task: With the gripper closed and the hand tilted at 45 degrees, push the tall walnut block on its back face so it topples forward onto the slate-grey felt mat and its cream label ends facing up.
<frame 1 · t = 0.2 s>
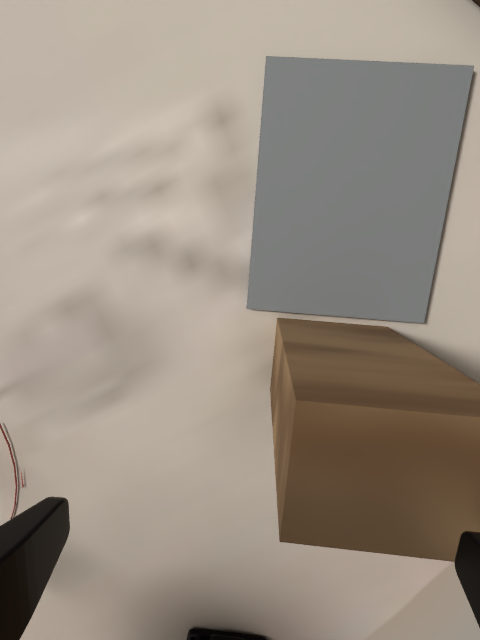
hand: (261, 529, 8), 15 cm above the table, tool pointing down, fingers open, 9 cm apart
walnut block: (326, 359, 22), on the table
felt mat: (348, 199, 20), on the table
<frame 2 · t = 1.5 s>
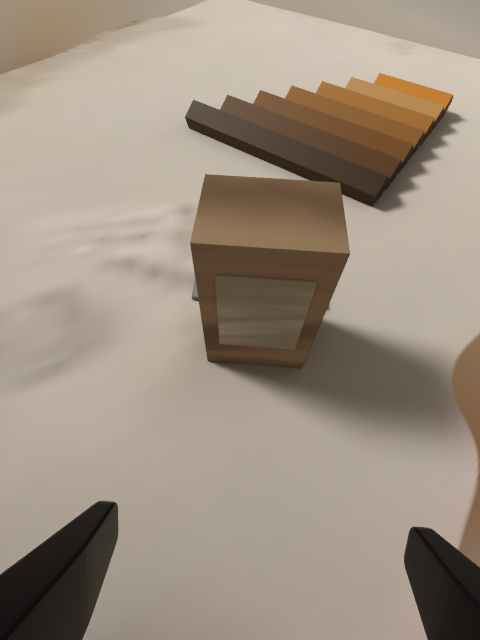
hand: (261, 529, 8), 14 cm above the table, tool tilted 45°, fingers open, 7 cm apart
walnut block: (256, 335, 26), on the table
pan flute: (319, 126, 44), on the table
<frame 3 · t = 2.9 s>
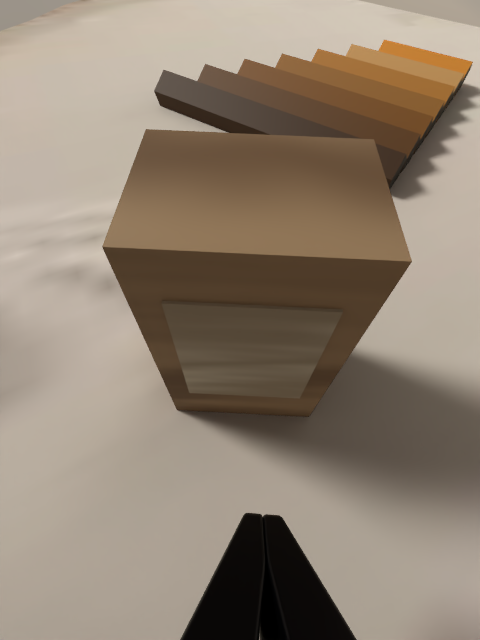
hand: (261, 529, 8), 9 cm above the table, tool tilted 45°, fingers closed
walnut block: (244, 369, 19), on the table
pan flute: (316, 103, 37), on the table
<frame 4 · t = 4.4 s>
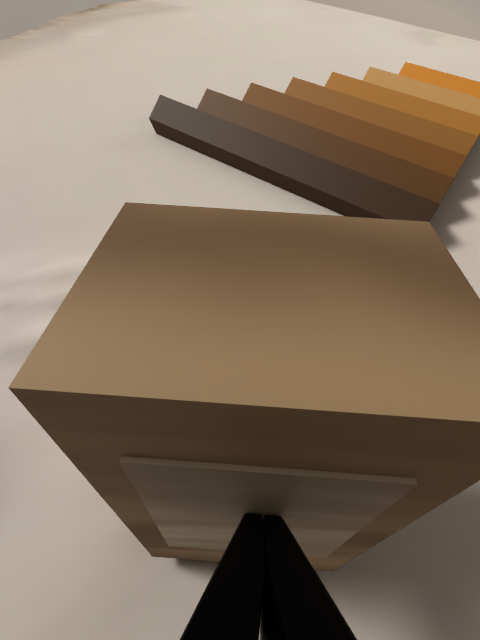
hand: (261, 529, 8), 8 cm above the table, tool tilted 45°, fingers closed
walnut block: (245, 493, 15), on the table, tilted 11°, touching gripper
pan flute: (329, 131, 34), on the table
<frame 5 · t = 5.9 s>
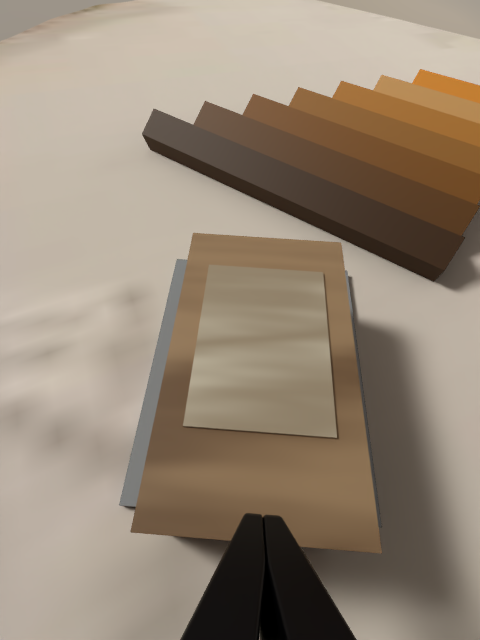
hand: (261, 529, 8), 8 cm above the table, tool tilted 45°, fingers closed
walnut block: (250, 540, 11), point 3 cm above the table, tilted 90°, touching felt mat
felt mat: (256, 366, 18), on the table
pan flute: (338, 145, 31), on the table
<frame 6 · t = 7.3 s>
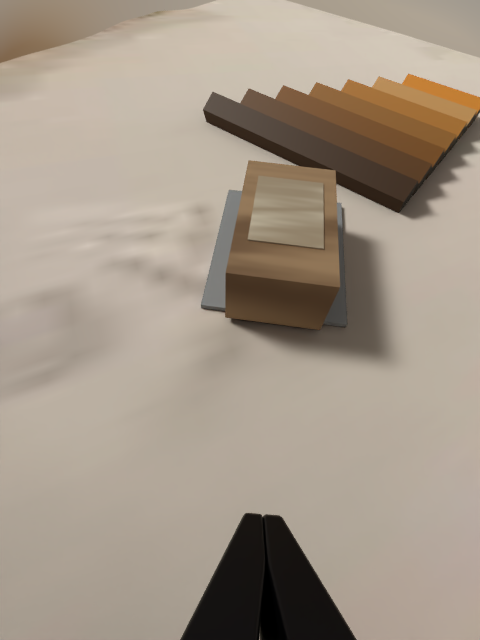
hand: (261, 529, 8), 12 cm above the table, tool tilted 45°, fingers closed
walnut block: (276, 303, 22), point 3 cm above the table, tilted 90°, touching felt mat
felt mat: (279, 250, 29), on the table
pan flute: (343, 127, 42), on the table
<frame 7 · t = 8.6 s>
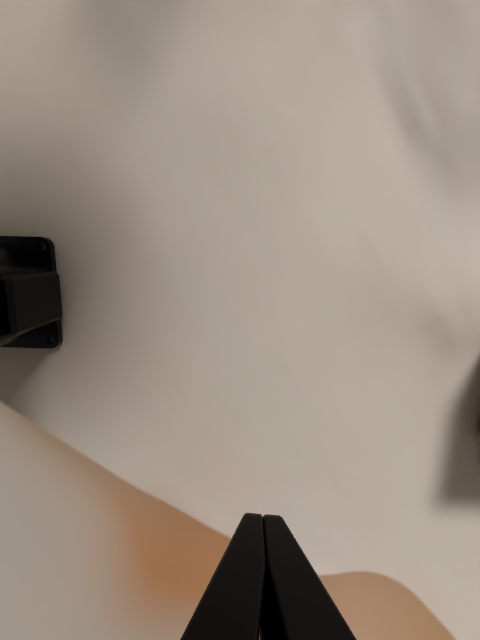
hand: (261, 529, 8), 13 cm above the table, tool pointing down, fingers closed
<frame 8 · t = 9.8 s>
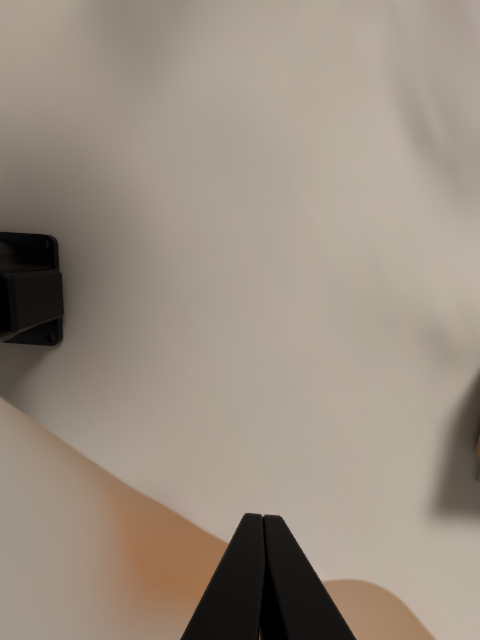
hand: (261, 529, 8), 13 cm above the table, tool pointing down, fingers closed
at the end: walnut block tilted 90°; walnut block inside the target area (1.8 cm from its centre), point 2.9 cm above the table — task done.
